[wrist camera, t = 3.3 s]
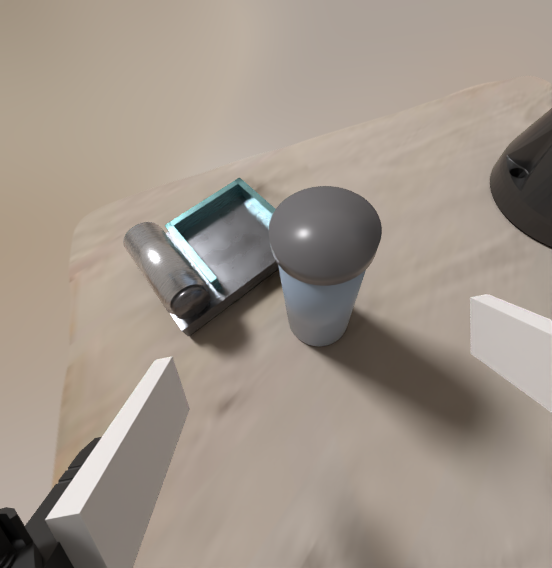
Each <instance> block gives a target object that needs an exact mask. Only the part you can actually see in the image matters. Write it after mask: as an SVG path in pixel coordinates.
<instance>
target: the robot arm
mask: <svg viewBox="0 0 552 568" xmlns="http://www.w3.org/2000/svg"><path fill="white" fill-rule="evenodd" d="M490 188H491V193H492V196H493V198H494V200H495V202H496V204H497V206H498V207H499V209H500V210H501V211H502V213H503V214H504V215H505V216H506V217H507V218H508V219H509V220H510V221H511V222H512V223H513V224H514V225H515V226H517V227H518V228H519V229H520V230H522V231H523V232H525V233H526V234H528V235H529V236H531V237H533V238H534V239H536V240H538V241H540V242H542V243H544V244H546V245H548V246H550V247H552V108H551V109H550V110H549V111H548V112H547V113H545V114H544V115H543V116H542V117H541V118H539V119H538V120H537V121H536V122H535V123H533V124H532V125H531V126H530V127H528V128H527V129H526V130H525V131H524V132H522V133H521V134H520V135H519V136H518V137H516V138H515V139H514V140H513V141H512V142H511V143H510V144H509V146H508V147H507V148H506V149H505V151H504V152H503V154H502V155H501V157H500V158H499V160H498V161H497V163H496V164H495V166H494V167H493V170H492V172H491V176H490ZM470 331H471V354H472V355H473V356H475V357H476V358H477V359H479V360H480V361H481V362H483V363H484V364H486V365H487V366H488V367H490V368H491V369H492V370H494V371H495V372H497V373H498V374H499V375H501V376H502V377H503V378H505V379H506V380H507V381H509V382H510V383H512V384H513V385H514V386H516V387H517V388H518V389H520V390H521V391H523V392H524V393H525V394H527V395H528V396H529V397H531V398H532V399H534V400H535V401H536V402H538V403H539V404H540V405H542V406H543V407H545V408H546V409H547V410H549V411H550V412H551V413H552V320H550V319H548V318H546V317H543V316H541V315H538V314H536V313H533V312H531V311H528V310H526V309H523V308H521V307H519V306H516V305H514V304H511V303H509V302H506V301H504V300H501V299H499V298H496V297H494V296H492V295H489V294H485V295H480V296H475V297H470ZM189 409H190V408H189V405H188V402H187V399H186V396H185V393H184V390H183V387H182V384H181V381H180V378H179V375H178V372H177V369H176V366H175V363H174V360H173V357H167V358H162V359H157V360H155V361H154V362H153V364H152V365H151V367H150V368H149V369H148V371H147V372H146V374H145V375H144V377H143V378H142V380H141V381H140V383H139V384H138V385H137V387H136V388H135V390H134V391H133V393H132V394H131V396H130V397H129V399H128V400H127V401H126V403H125V404H124V406H123V407H122V409H121V410H120V412H119V413H118V414H117V416H116V417H115V419H114V420H113V422H112V423H111V425H110V426H109V428H108V429H107V430H106V432H105V433H104V435H103V436H102V437H99V438H95V439H94V440H92V441H91V442H90V443H89V444H88V445H87V446H86V447H85V448H84V449H83V450H81V451H80V452H79V454H78V455H77V456H76V458H75V459H74V460H73V462H72V463H71V464H70V466H69V467H68V470H67V471H65V473H64V474H63V475H62V477H61V478H60V479H59V483H58V484H56V485H55V486H54V487H53V489H52V490H51V492H50V493H49V494H48V496H47V497H46V498H45V500H44V501H43V502H42V504H41V505H40V506H39V508H38V509H37V511H36V512H35V513H34V515H33V516H32V517H31V519H30V520H29V521H28V523H27V524H26V525H25V526H24V524H23V522H22V521H21V519H20V517H19V516H18V514H17V512H16V511H15V509H13V508H7V507H6V508H2V509H0V568H133V565H134V562H135V560H136V557H137V554H138V551H139V548H140V546H141V543H142V540H143V537H144V534H145V532H146V529H147V526H148V523H149V520H150V518H151V515H152V512H153V509H154V507H155V504H156V501H157V498H158V495H159V493H160V490H161V487H162V484H163V481H164V479H165V476H166V473H167V470H168V467H169V465H170V462H171V459H172V456H173V454H174V451H175V448H176V445H177V442H178V440H179V437H180V434H181V431H182V428H183V426H184V423H185V420H186V417H187V415H188V412H189Z"/></svg>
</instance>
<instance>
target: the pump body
mask: <svg viewBox="0 0 552 568" xmlns="http://www.w3.org/2000/svg"><path fill="white" fill-rule="evenodd" d="M268 232H269V240H270V244H271V249H272V253H273V256H274V258H275V260H276V262H277V263H278V266H279V271H280V277H281V282H282V288H283V293H284V299H285V304H286V310H287V315H288V320H289V325H290V328H291V330H292V332H293V333H294V335H295V336H296V337H297V338H298V339H299V340H301V341H302V342H304V343H306V344H308V345H312V346H326V345H330V344H332V343H334V342H336V341H337V340H338V339H340V338H341V337H342V335H343V334H344V332H345V331H346V328H347V325H348V322H349V319H350V316H351V313H352V310H353V307H354V304H355V301H356V298H357V295H358V292H359V289H360V286H361V283H362V280H363V277H364V274H365V271H366V269H367V268H368V266H369V265H370V264H371V262H372V260H373V259H374V257H375V254H376V251H377V248H378V245H379V243H380V240H381V234H382V227H381V222H380V219H379V216H378V214H377V212H376V210H375V209H374V208H373V206H372V205H371V204H370V203H369V202H368V201H367V200H365V199H364V198H363V197H361V196H360V195H358V194H356V193H354V192H352V191H349V190H346V189H343V188H339V187H331V186H320V187H312V188H308V189H304V190H301V191H299V192H297V193H294V194H293V195H291V196H289V197H288V198H286V199H285V200H284V201H283V202H282V203H281V204H280V205H279V206H278V207H277V208H276V210H275V211H274V213H273V215H272V217H271V219H270V223H269V231H268Z"/></svg>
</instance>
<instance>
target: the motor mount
mask: <svg viewBox="0 0 552 568" xmlns="http://www.w3.org/2000/svg"><path fill="white" fill-rule="evenodd" d="M275 210H276V209H275V208H274V207H273V206H272V205H270V204H269V203H268V202H267V201H266V200H265V199H264V198H262V197H261V196H260V195H259V194H258V193H257V192H255V191H254V190H253V189H252V188H251V187H250V186H249V185H247V184H246V183H245V182H244V181H243V180H242V179H241V178H238V179H236V180H235V181H233V182H232V183H230V184H229V185H227V186H225V187H224V188H222V189H221V190H219V191H218V192H216V193H214V194H213V195H211V196H210V197H208V198H207V199H205V200H204V201H202V202H200V203H199V204H197V205H196V206H194V207H193V208H191V209H189V210H188V211H186V212H185V213H183V214H182V215H180V216H179V217H177V218H175V219H174V220H172V221H171V222H169V223H168V224H166V225H165V227H166V228H167V230H168V231H169V232H167V233H165V232H164V231H163V229H162V228H161V227H160V226H159V225H157V224H155V223H152V222H144V223H140V224H137V225H135V226H134V227H132V228H131V229H130V230H129V231H128V232H127V233H126V235H125V237H124V247H125V249H126V250H127V252H128V253H129V255H130V256H131V258H132V259H133V260H134V262H135V263H136V265H137V266H138V268H139V269H140V271H141V272H142V274H143V275H144V277H145V278H146V280H147V281H148V283H149V284H150V286H151V287H152V289H153V290H154V292H155V293H156V295H157V296H158V298H159V299H160V301H161V302H162V304H163V305H164V307H165V308H166V310H167V311H168V312H169V313H170V314H171V316H172V317H173V319H174V320H175V322H176V323H177V325H178V326H179V327H180V329H181V330H182V331H183V332H184V333H185V334H186V335H187V336H190V335H191V334H193V333H194V332H195V331H197V330H198V329H199V328H201V327H202V326H203V325H205V324H206V323H207V322H208V321H210V320H211V319H212V318H214V317H215V316H216V315H218V314H219V313H220V312H222V311H223V310H224V309H226V308H227V307H228V306H230V305H231V304H232V303H234V302H235V301H236V300H238V299H239V298H240V297H242V296H243V295H244V294H246V293H247V292H248V291H250V290H251V289H252V288H254V287H255V286H256V285H258V284H259V283H260V282H261V281H263V280H264V279H265V278H267V277H268V276H269V275H271V274H272V273H273V272H275V271H276V270H277V269H279V266H278V263H277V262H276V260H275V258H274V256H273V253H272V249H271V244H270V240H269V232H268V231H269V223H270V219H271V217H272V215H273V213H274V211H275Z"/></svg>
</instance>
